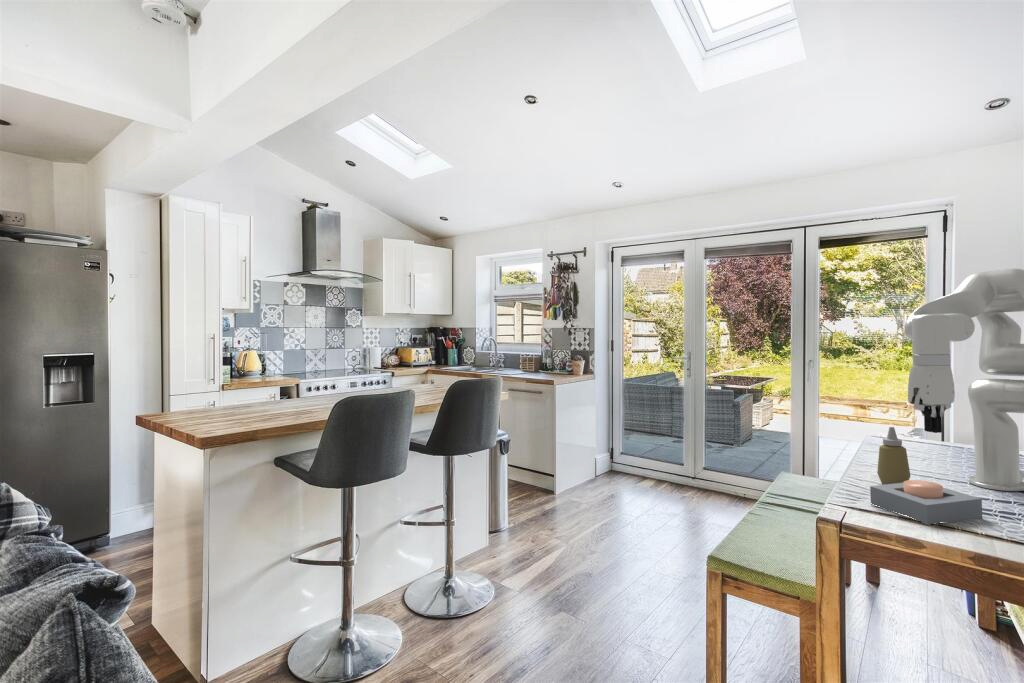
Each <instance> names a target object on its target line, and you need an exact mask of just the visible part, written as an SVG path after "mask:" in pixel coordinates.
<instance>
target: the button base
mask: <svg viewBox="0 0 1024 683" xmlns="http://www.w3.org/2000/svg"><path fill="white" fill-rule="evenodd" d="M869 489H870V490H869V491H870V504H871V503H872V504H874V505H877V506H880V507H882V508H885V509H887V510H886V511H888V510H890V511H894V512H897V513H900V514H903V515H907V516H909V517H912V518H914V519H916V520H919V521H921V522H922V523H925V524H927V525H926V526H930V525H929V524H934V523H940V522H951V523H957V522H956V521H959V522H966V521H965V520H967V521H973V520H981V519H983V501H982V500H983V499H982V498H981V497H977V496H974V495H971V494H967V493H964V492H961V491H956V490H953V489H950V488H946V487H943V497H940V498H931V499H923V498H920V497H917V496H914V495H911V494H907V493H904V484H903V483H895V484H886V485H882V484H878V485H870V487H869ZM872 504H871V505H872ZM874 505H873V506H874ZM877 506H876V507H877ZM880 507H879V508H880ZM882 508H881V509H882ZM885 509H884V510H885ZM890 511H889V512H890ZM922 523H921V524H922ZM925 524H924V525H925Z"/></svg>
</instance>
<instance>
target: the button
mask: <svg viewBox="0 0 1024 683" xmlns="http://www.w3.org/2000/svg"><path fill="white" fill-rule="evenodd" d="M903 484H904V493H907V494H911V495H914V496H917V497H920V498H923V499H931V498H940V497H943V488H944V486H943V485H942V484H940V483H937V482H933V481H927V480H918V479H917V480H916V479H909V480H907V481H904V482H903Z"/></svg>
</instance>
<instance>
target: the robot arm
mask: <svg viewBox="0 0 1024 683" xmlns="http://www.w3.org/2000/svg"><path fill="white" fill-rule="evenodd" d="M1014 312H1015V313H1017V312H1024V269H1022V268H1008V269H1007V268H1006V269H998V270H990V271H989V270H988V271H980V272H975V273H973V274H972V273H971V274H970V275H969V276H966V277H965V279H963V281H962V282H961V283H960V284H959V285H958V286H957V287H956V288H955V289H954V291H952V293H950V294H947V295H943V296H941V297H938V298H936V299H934V300H931V301H928V302H926V303H924V304H922V305H920V306H918V307H917V308H915V310H914V311H913V312H912V313H910V314H909V316H908V317H907V319H906V321H905V323H904V328H903V329H904V334H905V336H906V338H908V339H909V340H910V341H912V343H911V344H912V366H911V367H910V370H909V374H908V385H907V401H908V403H909V404H911V405H913V409H914V410H916V411H920V412H921V415H922V416H923V417H924V418H923V421H924V422H923V423H924V424H923V425H924V431H925V432H926V433H927V432H929V433H935V434H937V433H939V434H940V433H943V422H942V421H943V417H944V415H945V414H944V413H945V411H946V410H950V409H951V408H952V404H953V403H954V401H955V395H956V394H955V381H954V375H953V370H952V367H951V364H952V363H951V343H952V342H963V341H966V340H968V339H970V338H971V337H972V336H973V335H974V332H975V327H976V325H975V322H974V320H973V319H972V318H976V319H977V322H978V323H979V324H980V328H981V338H980V346H979V356H978V367H979V369H980V371H982V373H984V374H986V375H990V376H991V375H992V376H1000V377H1001V376H1002V377H1003V376H1004V377H1007V376H1008V377H1024V343H1021V341H1022V340H1021V337H1022V328H1021V326H1020V325H1019V324H1018V323H1017V322H1016V321H1015V320H1014V319H1013V318H1011V317H1010V316H1009V315H1008V314H1007V313H1014ZM967 396H968V400H969V403H970V404H969V405H970V407H971V412H972V419H973V423H972V424H973V441H974V442H973V443H974V467H975V468H974V469H975V470H974V471H975V472H974V474H975V475H972V476H970V477H968V482H969V483H970V484H972V485H974V486H976V487H980V488H984V489H989V490H995V491H1005V492H1023V491H1024V481H1023V479H1024V470H1021V466H1020V464H1021V463H1020V439H1019V438H1020V437H1019V434H1020V433H1019V427H1018V424H1017V423H1016V421H1015V420H1014V419H1013V418H1012V417H1011V416H1010V415H1009V414H1008V413H1013V414H1014V413H1016V414H1024V379H1009V378H1008V379H1007V378H981V379H977V380H974V381H972V382H971V383H970V384H969V386H968V389H967Z"/></svg>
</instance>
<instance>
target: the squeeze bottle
mask: <svg viewBox="0 0 1024 683" xmlns="http://www.w3.org/2000/svg"><path fill="white" fill-rule="evenodd" d="M878 449H879V450H878V460H877V475H878V478H879V481H880V483H881V485H886V484H895V483H903V482H904V481H907V480H911V471H910V464H909V459H908V452H907V448H906V447H904V446H903V439H901V438H899V437H898V436H897V433H896V430H895V427H893V426H889V427H888V431H887V436H886V437H883V438H882V444H881V445H879V448H878Z"/></svg>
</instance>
